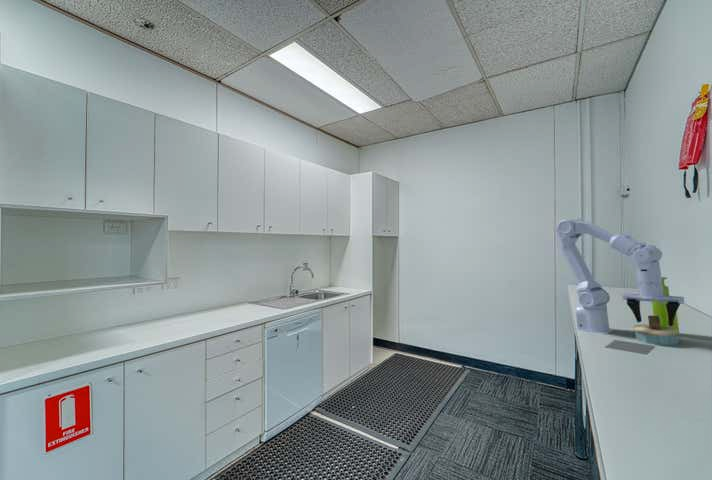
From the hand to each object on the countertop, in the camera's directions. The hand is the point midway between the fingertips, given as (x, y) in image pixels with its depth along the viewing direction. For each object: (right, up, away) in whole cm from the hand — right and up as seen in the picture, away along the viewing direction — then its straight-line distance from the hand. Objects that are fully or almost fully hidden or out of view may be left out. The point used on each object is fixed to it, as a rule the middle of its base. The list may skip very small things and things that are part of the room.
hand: (654, 323), depth 100 cm
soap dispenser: (+10, -6, +7) cm, 13 cm away
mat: (-12, -7, -4) cm, 14 cm away
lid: (0, -2, 0) cm, 2 cm away
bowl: (0, -6, 0) cm, 6 cm away
